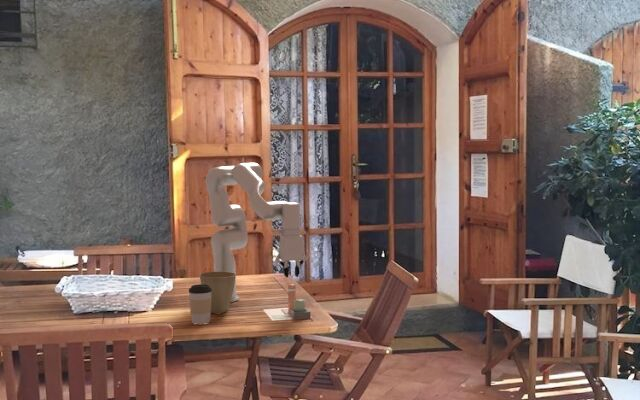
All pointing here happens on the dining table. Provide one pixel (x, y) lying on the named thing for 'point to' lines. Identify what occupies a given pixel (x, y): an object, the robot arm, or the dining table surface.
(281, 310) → the colouring board
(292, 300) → the marker
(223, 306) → the plant pot
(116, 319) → the dining table surface
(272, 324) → the dining table surface
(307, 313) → the button housing
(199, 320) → the coffee cup
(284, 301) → the dining table surface
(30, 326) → the dining table surface
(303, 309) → the button
